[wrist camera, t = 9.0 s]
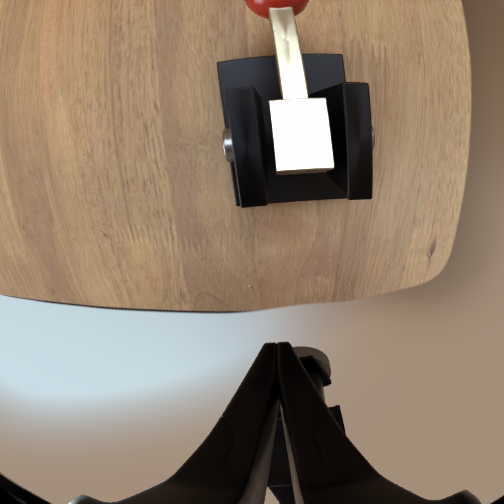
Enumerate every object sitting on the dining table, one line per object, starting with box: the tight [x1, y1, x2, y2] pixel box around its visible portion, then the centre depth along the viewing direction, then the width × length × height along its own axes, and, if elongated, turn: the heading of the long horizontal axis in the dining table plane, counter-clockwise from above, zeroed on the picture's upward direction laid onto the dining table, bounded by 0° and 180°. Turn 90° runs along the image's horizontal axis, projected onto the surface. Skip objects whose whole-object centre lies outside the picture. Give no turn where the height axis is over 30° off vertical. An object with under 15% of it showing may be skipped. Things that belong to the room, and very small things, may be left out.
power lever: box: [244, 0, 335, 175], centre depth 10 cm, size 11×3×3 cm, turn 7°
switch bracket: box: [217, 54, 375, 208], centre depth 14 cm, size 10×8×10 cm
